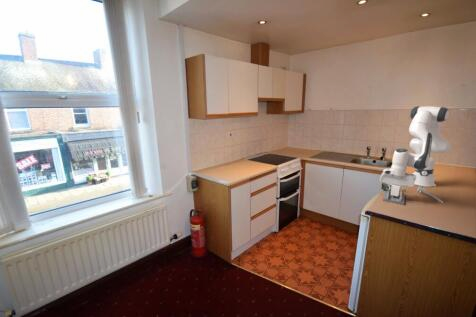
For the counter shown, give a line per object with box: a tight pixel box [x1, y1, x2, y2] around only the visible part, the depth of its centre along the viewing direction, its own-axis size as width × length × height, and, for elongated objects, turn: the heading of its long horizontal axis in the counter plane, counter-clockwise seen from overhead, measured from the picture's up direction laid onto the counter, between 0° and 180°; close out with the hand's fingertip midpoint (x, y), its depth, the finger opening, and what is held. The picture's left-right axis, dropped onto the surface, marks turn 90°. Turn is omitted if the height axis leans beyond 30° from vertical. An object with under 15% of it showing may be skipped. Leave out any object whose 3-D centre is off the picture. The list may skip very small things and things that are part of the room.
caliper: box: [416, 185, 445, 204], centre depth 164 cm, size 20×1×6 cm, turn 5°
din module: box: [391, 184, 401, 196], centre depth 161 cm, size 8×4×7 cm, turn 144°
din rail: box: [386, 189, 403, 202], centre depth 162 cm, size 18×8×2 cm, turn 144°
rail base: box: [382, 191, 405, 206], centre depth 162 cm, size 18×12×2 cm, turn 144°
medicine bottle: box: [380, 182, 392, 192], centre depth 175 cm, size 7×7×12 cm
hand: (395, 190), depth 161 cm, fingers closed on din module, 4 cm apart
